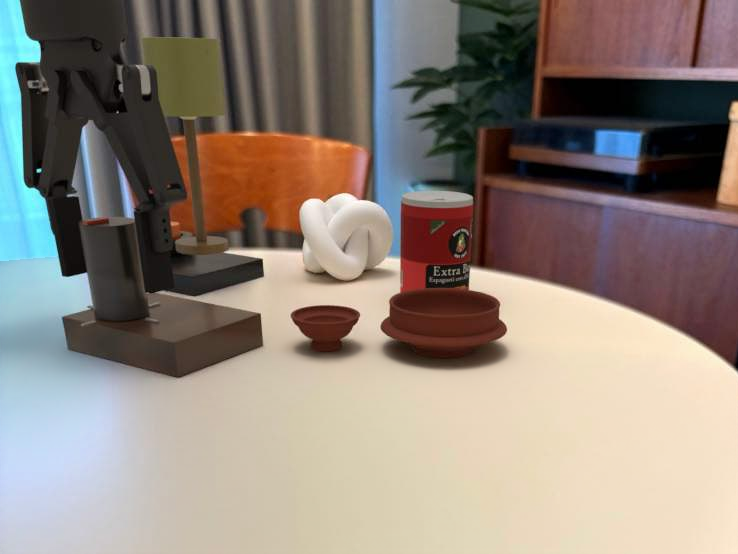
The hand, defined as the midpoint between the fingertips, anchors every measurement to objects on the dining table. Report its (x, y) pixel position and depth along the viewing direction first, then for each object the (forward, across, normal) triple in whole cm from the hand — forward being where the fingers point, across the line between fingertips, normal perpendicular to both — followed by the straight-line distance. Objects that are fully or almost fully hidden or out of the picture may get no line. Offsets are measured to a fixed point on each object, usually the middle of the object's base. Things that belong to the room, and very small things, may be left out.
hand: (117, 281), depth 74 cm
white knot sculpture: (+6, -1, +35) cm, 36 cm away
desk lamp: (+2, -11, +22) cm, 25 cm away
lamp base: (+6, -16, +23) cm, 29 cm away
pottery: (+6, +21, +14) cm, 26 cm away
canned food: (+6, +15, +31) cm, 35 cm away
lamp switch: (+2, -21, +26) cm, 34 cm away
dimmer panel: (+6, +3, +2) cm, 7 cm away
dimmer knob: (+3, 0, 0) cm, 3 cm away
